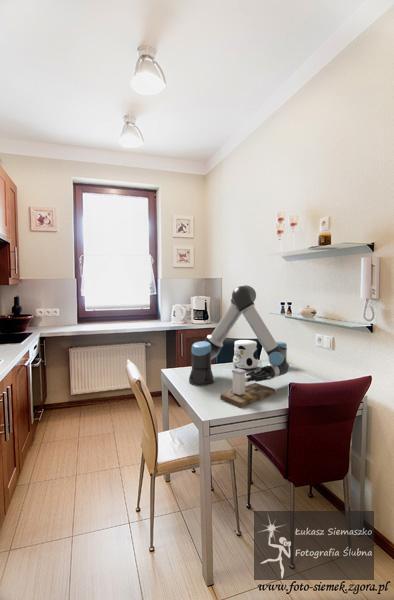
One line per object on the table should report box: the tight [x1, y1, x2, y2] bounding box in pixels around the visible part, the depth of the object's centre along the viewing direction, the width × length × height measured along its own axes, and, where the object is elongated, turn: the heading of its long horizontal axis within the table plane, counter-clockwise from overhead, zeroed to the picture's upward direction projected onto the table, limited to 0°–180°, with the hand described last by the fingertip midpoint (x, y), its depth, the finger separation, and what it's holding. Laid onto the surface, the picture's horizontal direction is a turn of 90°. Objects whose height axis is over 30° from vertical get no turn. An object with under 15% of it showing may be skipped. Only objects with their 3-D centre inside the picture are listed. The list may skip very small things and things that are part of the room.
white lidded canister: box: [231, 367, 247, 395], centre depth 165 cm, size 5×6×12 cm
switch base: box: [219, 382, 277, 408], centre depth 168 cm, size 28×14×3 cm, turn 130°
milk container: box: [232, 339, 259, 370], centre depth 221 cm, size 17×17×18 cm
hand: (241, 380), depth 166 cm, fingers closed
